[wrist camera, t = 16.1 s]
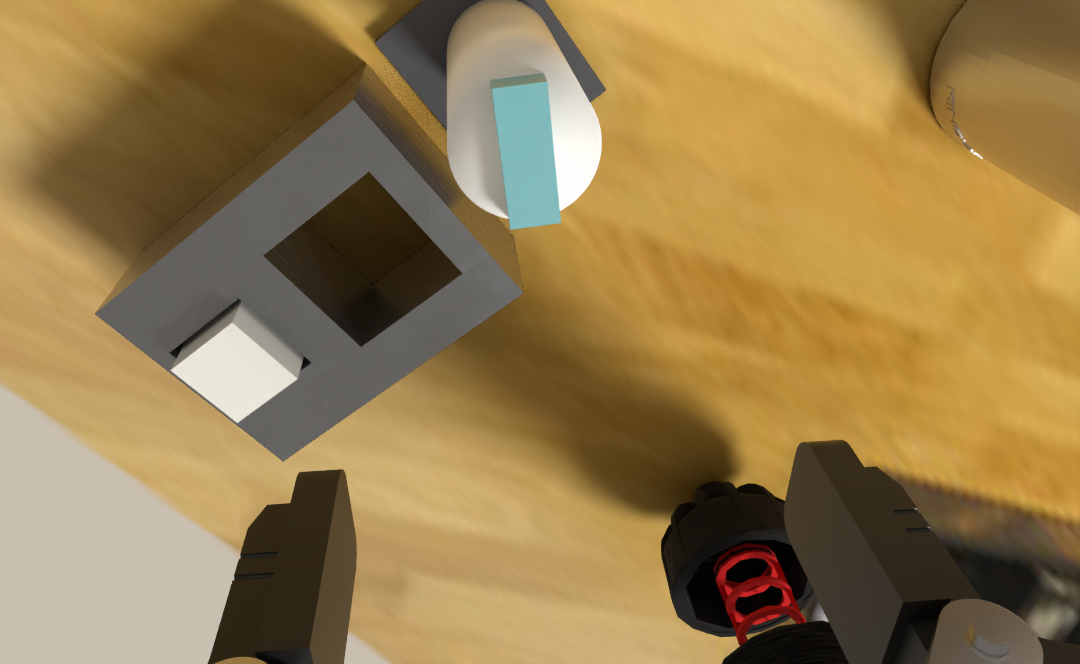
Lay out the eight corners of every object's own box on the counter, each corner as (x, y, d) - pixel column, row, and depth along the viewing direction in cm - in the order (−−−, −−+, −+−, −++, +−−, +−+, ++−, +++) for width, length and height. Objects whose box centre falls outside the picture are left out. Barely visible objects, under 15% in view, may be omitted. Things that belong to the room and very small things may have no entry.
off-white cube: (256, 269, 38) (232, 322, 34) (313, 321, 40) (297, 378, 36) (200, 313, 39) (170, 370, 35) (259, 362, 41) (237, 422, 37)
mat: (500, -65, 34) (500, -64, 33) (604, 86, 38) (606, 90, 37) (375, 40, 36) (374, 43, 35) (487, 175, 39) (487, 179, 39)
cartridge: (438, 4, 34) (434, 88, 23) (548, -10, 35) (602, 67, 23) (455, 114, 37) (460, 242, 25) (558, 100, 37) (611, 221, 25)
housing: (366, 63, 36) (353, 99, 31) (514, 237, 41) (523, 293, 36) (139, 253, 40) (94, 313, 35) (301, 391, 45) (283, 461, 40)
